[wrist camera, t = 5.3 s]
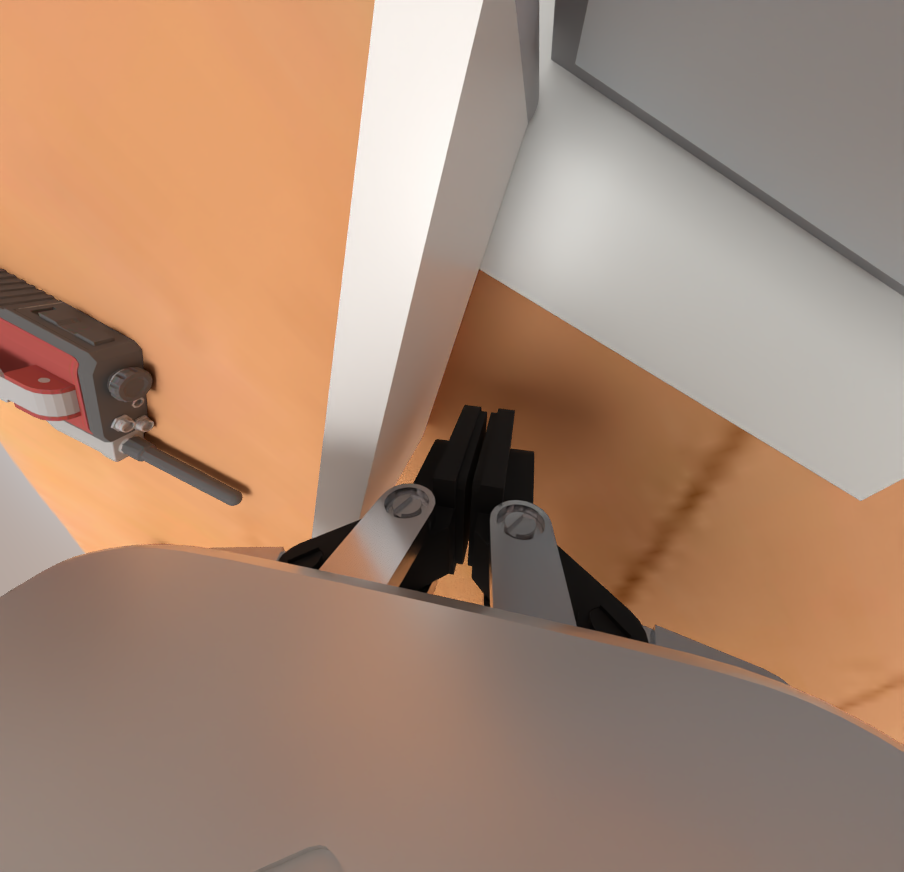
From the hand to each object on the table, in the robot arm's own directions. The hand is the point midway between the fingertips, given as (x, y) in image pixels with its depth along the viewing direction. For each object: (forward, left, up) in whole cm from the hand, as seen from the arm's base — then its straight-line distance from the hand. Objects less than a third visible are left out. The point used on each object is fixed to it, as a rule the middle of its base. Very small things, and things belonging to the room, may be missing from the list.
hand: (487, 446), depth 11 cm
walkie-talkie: (+21, +12, -5) cm, 25 cm away
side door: (+4, -3, -4) cm, 6 cm away
